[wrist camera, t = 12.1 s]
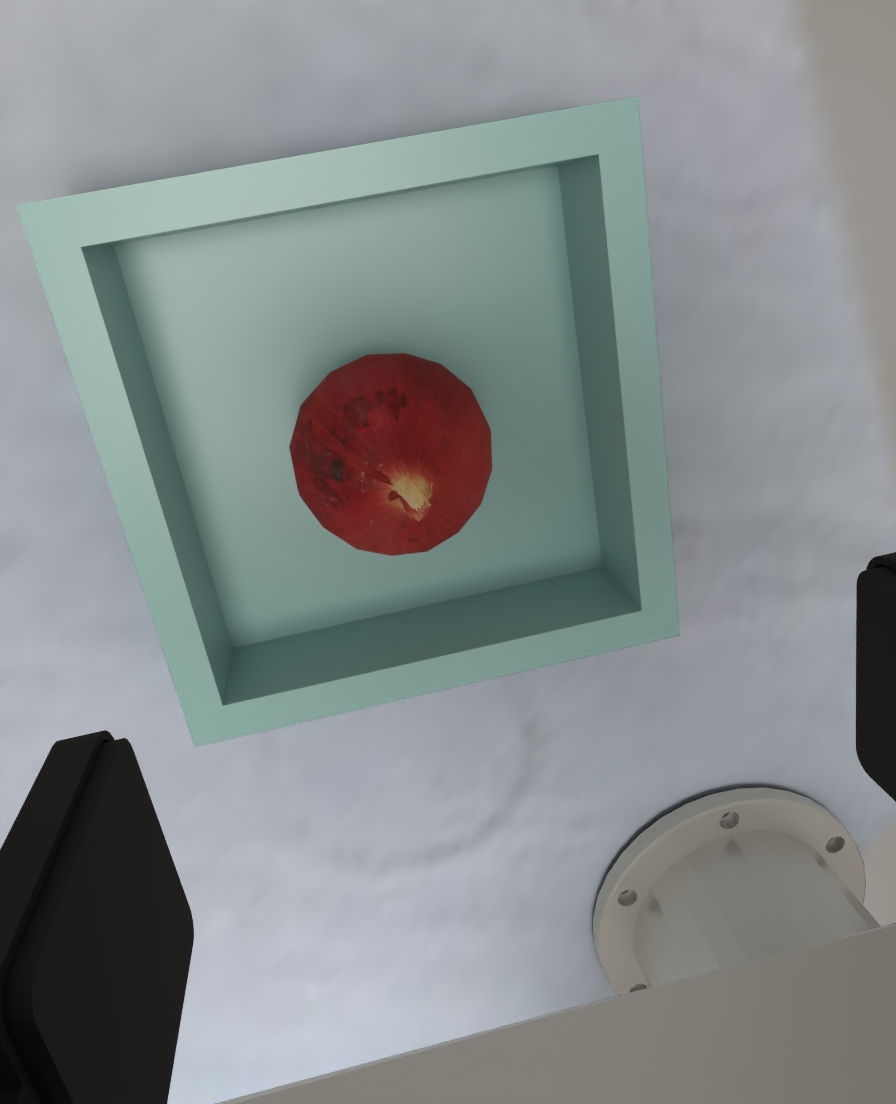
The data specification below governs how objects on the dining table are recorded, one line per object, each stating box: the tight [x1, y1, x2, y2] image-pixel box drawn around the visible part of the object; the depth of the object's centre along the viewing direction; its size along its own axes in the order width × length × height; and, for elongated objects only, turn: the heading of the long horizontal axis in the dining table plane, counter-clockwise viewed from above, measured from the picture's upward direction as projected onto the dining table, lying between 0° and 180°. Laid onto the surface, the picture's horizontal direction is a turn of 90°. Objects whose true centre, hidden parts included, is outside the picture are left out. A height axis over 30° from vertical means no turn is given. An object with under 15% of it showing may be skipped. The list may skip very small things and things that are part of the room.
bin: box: [16, 96, 680, 747], centre depth 27 cm, size 16×16×5 cm
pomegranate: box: [289, 353, 492, 556], centre depth 25 cm, size 6×6×8 cm
